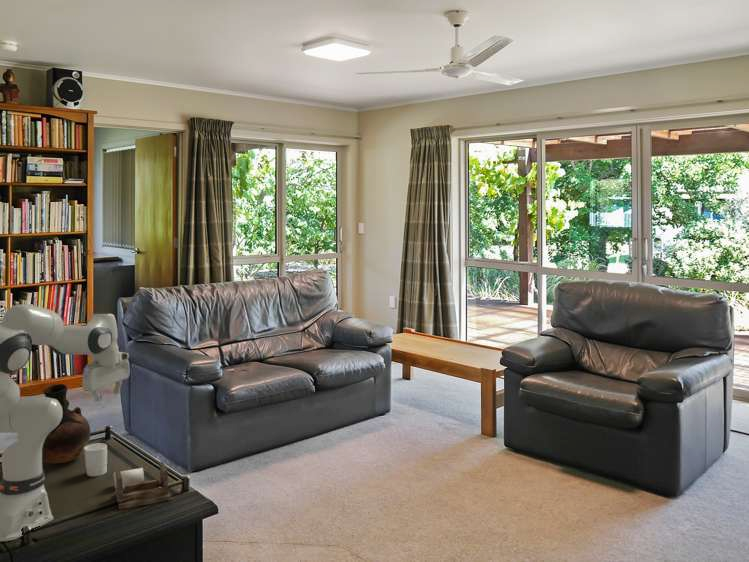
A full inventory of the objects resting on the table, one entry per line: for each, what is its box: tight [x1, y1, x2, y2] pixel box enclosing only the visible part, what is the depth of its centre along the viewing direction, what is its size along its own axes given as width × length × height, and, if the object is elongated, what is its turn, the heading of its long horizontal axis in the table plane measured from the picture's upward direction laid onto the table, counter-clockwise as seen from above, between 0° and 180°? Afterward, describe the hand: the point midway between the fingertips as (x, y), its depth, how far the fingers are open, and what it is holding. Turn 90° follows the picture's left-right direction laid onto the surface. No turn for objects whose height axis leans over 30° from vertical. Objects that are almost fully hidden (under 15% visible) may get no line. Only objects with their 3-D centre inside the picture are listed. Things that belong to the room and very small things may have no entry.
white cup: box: [83, 442, 108, 477], centre depth 251 cm, size 8×8×10 cm
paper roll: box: [113, 467, 145, 490], centre depth 240 cm, size 10×6×6 cm, turn 115°
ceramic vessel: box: [42, 383, 91, 464], centre depth 262 cm, size 21×18×30 cm
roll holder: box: [114, 461, 171, 510], centre depth 230 cm, size 16×13×10 cm
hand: (107, 397), depth 239 cm, fingers open, 8 cm apart
